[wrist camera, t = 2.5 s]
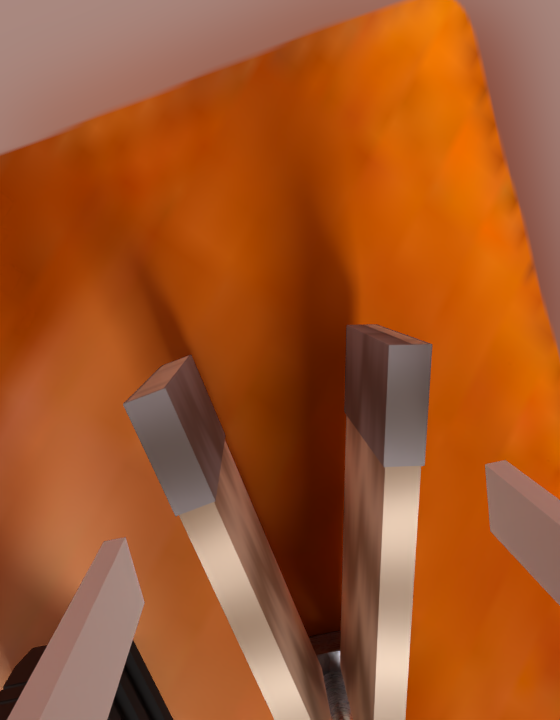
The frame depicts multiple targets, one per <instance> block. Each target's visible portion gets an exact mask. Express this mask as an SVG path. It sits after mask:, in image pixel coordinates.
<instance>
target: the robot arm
mask: <svg viewBox="0 0 560 720" xmlns="http://www.w3.org/2000/svg"><path fill="white" fill-rule="evenodd" d="M485 470H486V482H487V494H488V506H489V519H490V531H491V532H492V533H493V534H494V535H495V536H496V537H497V539H498V540H499V541H500V542H501V543H502V544H503V545H504V546H505V547H506V548H507V549H508V550H509V551H510V552H511V554H512V555H513V556H514V557H515V558H516V559H517V560H518V561H519V562H520V563H521V564H522V565H523V566H524V567H525V569H526V570H527V571H528V572H529V573H530V574H531V575H532V576H533V577H534V578H535V579H536V580H537V581H538V583H539V584H540V585H541V586H542V587H543V588H544V589H545V590H546V591H547V592H548V593H549V594H550V595H551V596H552V598H553V599H554V600H555V601H556V602H557V603H558V604H559V605H560V500H559V499H558V498H556V497H555V496H553V495H552V494H551V493H549V492H548V491H547V490H545V489H544V488H543V487H541V486H540V485H538V484H537V483H536V482H534V481H533V480H532V479H530V478H529V477H528V476H526V475H525V474H523V473H522V472H521V471H519V470H518V469H517V468H515V467H514V466H513V465H511V464H510V463H508V462H507V461H506V460H504V461H499V462H495V463H490V464H485ZM144 603H145V602H144V599H143V596H142V592H141V589H140V585H139V582H138V578H137V575H136V572H135V568H134V565H133V561H132V558H131V554H130V551H129V548H128V544H127V541H126V537H124V538H119V539H114V540H109V541H104V542H103V544H102V546H101V548H100V549H99V551H98V553H97V555H96V557H95V559H94V561H93V562H92V564H91V566H90V568H89V570H88V572H87V573H86V575H85V577H84V579H83V581H82V583H81V584H80V586H79V588H78V590H77V592H76V594H75V595H74V597H73V599H72V601H71V603H70V605H69V607H68V608H67V610H66V612H65V614H64V616H63V618H62V619H61V621H60V623H59V625H58V627H57V629H56V630H55V632H54V634H53V636H52V638H51V640H50V642H49V643H48V645H46V646H41V647H36V648H32V650H31V651H30V652H29V653H28V654H27V655H26V656H25V657H24V658H23V659H22V660H21V661H20V662H19V663H18V664H17V665H16V666H15V668H14V670H13V671H12V673H11V675H10V676H9V678H8V680H7V681H6V683H5V685H4V686H3V687H4V689H3V690H1V691H0V720H107V719H108V716H109V713H110V710H111V706H112V703H113V700H114V697H115V694H116V691H117V688H118V684H119V681H120V678H121V675H122V672H123V669H124V666H125V663H126V659H127V656H128V653H129V650H130V647H131V644H132V641H133V637H134V634H135V631H136V628H137V625H138V622H139V619H140V616H141V612H142V609H143V606H144Z"/></svg>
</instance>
